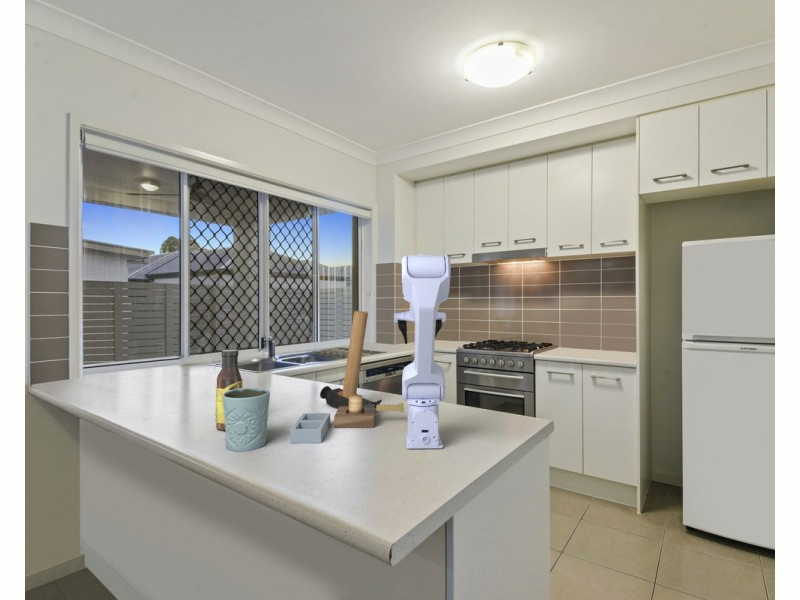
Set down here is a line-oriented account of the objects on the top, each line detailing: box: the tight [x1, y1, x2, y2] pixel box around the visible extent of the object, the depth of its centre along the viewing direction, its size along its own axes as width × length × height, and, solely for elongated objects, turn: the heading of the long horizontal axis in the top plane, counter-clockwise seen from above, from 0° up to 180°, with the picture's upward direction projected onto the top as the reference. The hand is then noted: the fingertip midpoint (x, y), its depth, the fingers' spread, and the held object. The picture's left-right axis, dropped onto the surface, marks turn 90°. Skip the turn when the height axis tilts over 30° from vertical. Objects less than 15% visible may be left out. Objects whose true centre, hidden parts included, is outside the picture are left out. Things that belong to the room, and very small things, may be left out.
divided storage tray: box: [289, 412, 331, 444], centre depth 102 cm, size 14×7×3 cm, turn 1°
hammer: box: [319, 310, 383, 409], centre depth 124 cm, size 20×5×30 cm, turn 56°
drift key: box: [375, 402, 405, 414], centre depth 111 cm, size 3×7×2 cm, turn 91°
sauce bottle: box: [215, 349, 243, 431], centre depth 107 cm, size 7×6×20 cm
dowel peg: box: [349, 394, 363, 413], centre depth 111 cm, size 4×4×7 cm
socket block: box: [333, 404, 376, 429], centre depth 111 cm, size 10×10×4 cm
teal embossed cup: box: [222, 387, 271, 453], centre depth 94 cm, size 10×10×12 cm
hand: (419, 341), depth 121 cm, fingers open, 7 cm apart
